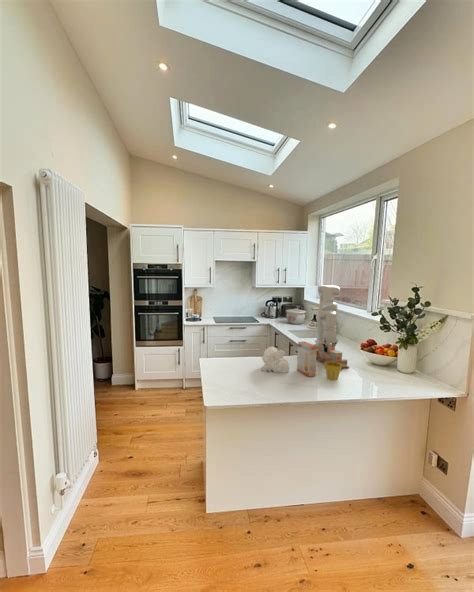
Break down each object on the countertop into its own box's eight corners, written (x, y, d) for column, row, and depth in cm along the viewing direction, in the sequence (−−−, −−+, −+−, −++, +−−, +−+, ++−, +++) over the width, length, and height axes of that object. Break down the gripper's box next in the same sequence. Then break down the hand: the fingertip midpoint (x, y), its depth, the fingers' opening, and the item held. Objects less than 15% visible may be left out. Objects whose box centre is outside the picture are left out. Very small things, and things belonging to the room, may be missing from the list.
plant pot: (338, 382, 187) (339, 367, 186) (322, 379, 193) (323, 364, 192) (342, 377, 196) (343, 363, 195) (326, 374, 202) (327, 360, 201)
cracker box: (315, 376, 198) (317, 345, 196) (308, 377, 195) (310, 346, 193) (303, 369, 210) (304, 340, 208) (296, 370, 208) (297, 341, 206)
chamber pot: (306, 326, 375) (307, 309, 373) (284, 324, 379) (285, 308, 377) (305, 322, 402) (306, 307, 400) (285, 321, 407) (285, 306, 405)
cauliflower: (299, 360, 201) (276, 346, 196) (284, 386, 199) (260, 372, 195) (288, 354, 219) (267, 341, 215) (274, 377, 217) (252, 364, 213)
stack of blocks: (341, 364, 217) (342, 348, 216) (334, 365, 215) (335, 349, 214) (324, 356, 238) (324, 341, 236) (317, 356, 235) (318, 341, 234)
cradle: (310, 357, 238) (310, 350, 238) (321, 356, 243) (322, 349, 243) (336, 370, 211) (336, 361, 210) (348, 368, 216) (349, 359, 215)
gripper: (335, 326, 231) (334, 349, 233) (318, 328, 225) (316, 351, 226) (342, 328, 225) (341, 351, 226) (324, 330, 218) (323, 353, 220)
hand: (329, 351), depth 226 cm, fingers closed on stack of blocks, 6 cm apart
